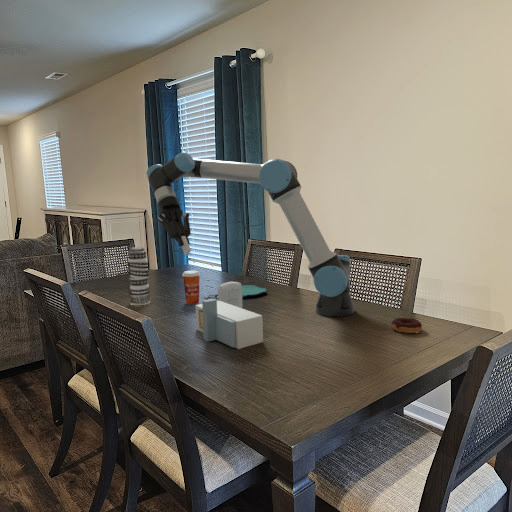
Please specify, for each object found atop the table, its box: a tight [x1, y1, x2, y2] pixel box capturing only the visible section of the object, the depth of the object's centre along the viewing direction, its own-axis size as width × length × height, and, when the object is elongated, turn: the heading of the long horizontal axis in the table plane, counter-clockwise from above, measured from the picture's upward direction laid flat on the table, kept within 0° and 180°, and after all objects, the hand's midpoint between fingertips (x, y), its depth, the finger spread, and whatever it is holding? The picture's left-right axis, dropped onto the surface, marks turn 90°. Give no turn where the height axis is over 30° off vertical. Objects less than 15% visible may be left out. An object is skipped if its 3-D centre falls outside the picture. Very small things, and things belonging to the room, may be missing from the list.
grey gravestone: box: [217, 281, 243, 309], centre depth 185 cm, size 10×4×12 cm, turn 123°
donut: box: [391, 317, 423, 334], centre depth 158 cm, size 10×10×4 cm
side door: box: [201, 298, 236, 348], centre depth 147 cm, size 12×4×13 cm, turn 37°
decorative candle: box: [126, 246, 151, 306], centre depth 200 cm, size 9×9×25 cm
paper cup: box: [182, 270, 201, 305], centre depth 200 cm, size 8×8×14 cm
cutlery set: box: [201, 284, 268, 300], centre depth 213 cm, size 20×30×2 cm, turn 125°
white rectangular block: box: [194, 300, 264, 350], centre depth 156 cm, size 26×10×9 cm, turn 37°
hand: (187, 252), depth 167 cm, fingers closed
